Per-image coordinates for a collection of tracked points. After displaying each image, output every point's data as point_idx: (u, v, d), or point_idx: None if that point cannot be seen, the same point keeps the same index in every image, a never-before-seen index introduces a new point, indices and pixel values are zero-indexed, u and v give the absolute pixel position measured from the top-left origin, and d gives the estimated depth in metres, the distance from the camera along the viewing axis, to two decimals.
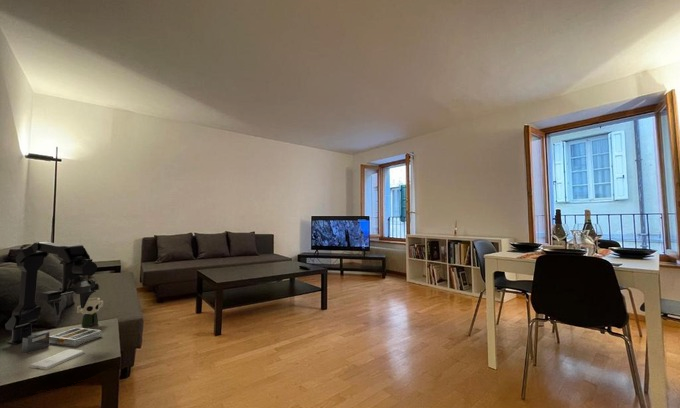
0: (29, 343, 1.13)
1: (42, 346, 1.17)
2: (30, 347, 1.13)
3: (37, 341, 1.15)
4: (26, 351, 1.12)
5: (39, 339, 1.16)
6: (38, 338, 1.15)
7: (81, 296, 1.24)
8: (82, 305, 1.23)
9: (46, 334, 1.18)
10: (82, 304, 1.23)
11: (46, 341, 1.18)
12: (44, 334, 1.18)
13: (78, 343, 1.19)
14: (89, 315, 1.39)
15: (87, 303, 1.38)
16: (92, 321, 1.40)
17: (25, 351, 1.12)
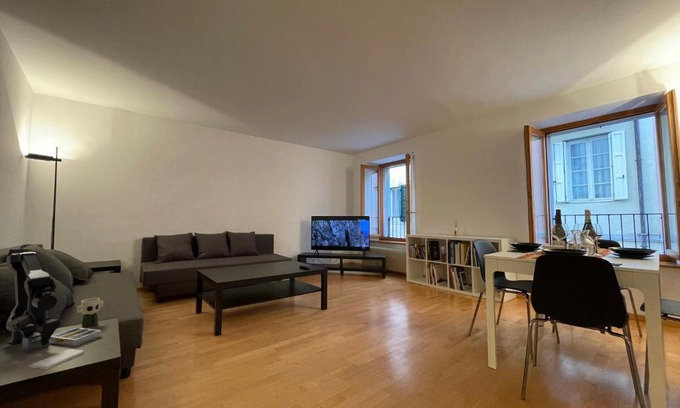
0: (29, 343, 1.13)
1: (42, 346, 1.17)
2: (30, 347, 1.13)
3: (37, 341, 1.15)
4: (26, 351, 1.12)
5: (39, 339, 1.16)
6: (38, 338, 1.15)
7: None
8: None
9: None
10: None
11: None
12: None
13: (78, 343, 1.19)
14: (89, 315, 1.39)
15: (87, 303, 1.38)
16: (92, 321, 1.40)
17: (25, 351, 1.12)
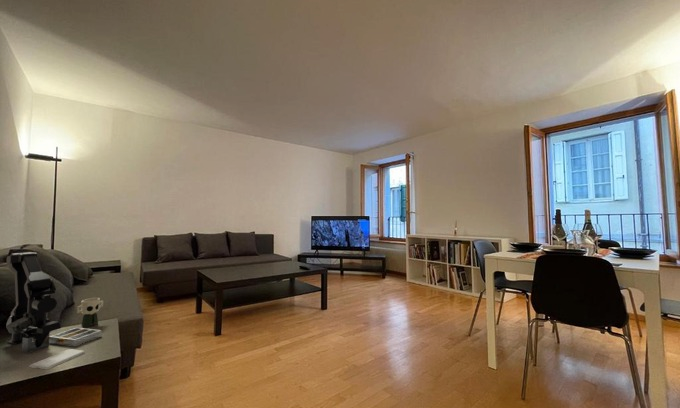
0: (29, 343, 1.13)
1: (42, 346, 1.17)
2: (30, 347, 1.13)
3: None
4: (26, 351, 1.12)
5: None
6: None
7: None
8: None
9: None
10: None
11: (46, 341, 1.18)
12: None
13: (78, 343, 1.19)
14: (89, 315, 1.39)
15: (87, 303, 1.38)
16: (92, 321, 1.40)
17: (25, 351, 1.12)
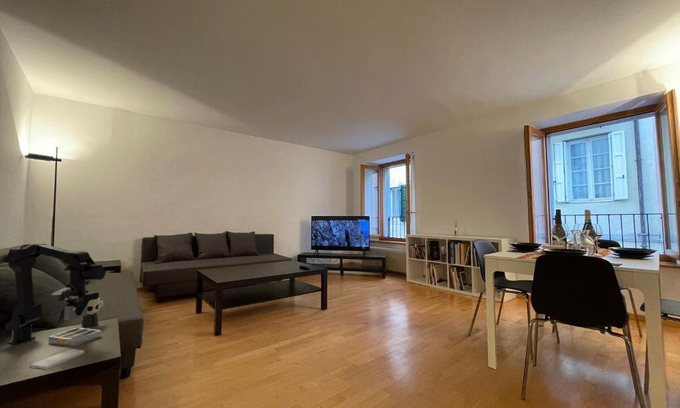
0: (71, 311, 1.22)
1: (81, 315, 1.26)
2: (71, 315, 1.22)
3: None
4: (68, 318, 1.21)
5: None
6: None
7: None
8: None
9: None
10: None
11: (84, 310, 1.27)
12: None
13: (78, 343, 1.19)
14: (89, 315, 1.39)
15: None
16: (92, 321, 1.40)
17: (67, 318, 1.21)
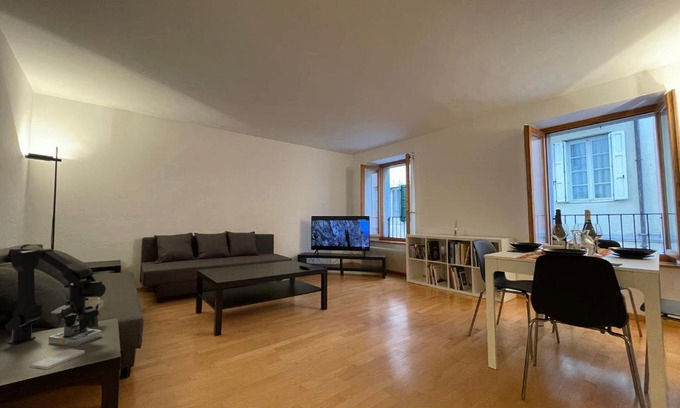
0: (70, 331, 1.22)
1: None
2: (71, 335, 1.22)
3: (76, 330, 1.24)
4: None
5: None
6: (77, 328, 1.24)
7: None
8: None
9: None
10: None
11: (84, 330, 1.27)
12: None
13: (78, 343, 1.19)
14: None
15: (87, 303, 1.38)
16: (92, 321, 1.40)
17: None
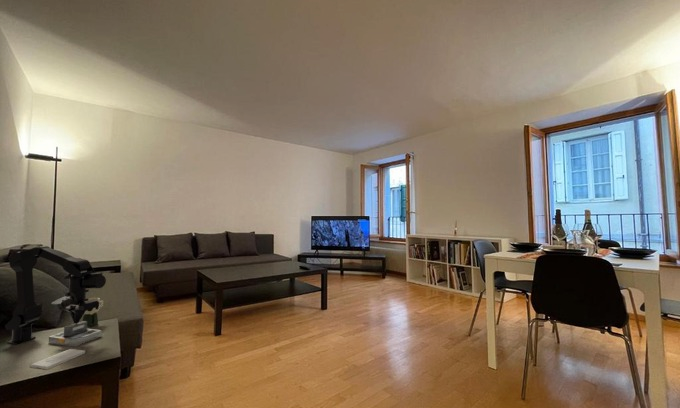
0: (70, 331, 1.22)
1: None
2: (71, 335, 1.22)
3: (76, 330, 1.24)
4: None
5: (79, 328, 1.25)
6: (77, 328, 1.24)
7: None
8: None
9: (84, 324, 1.27)
10: None
11: (84, 330, 1.27)
12: (83, 323, 1.26)
13: (78, 343, 1.19)
14: (89, 315, 1.39)
15: None
16: (92, 321, 1.40)
17: None
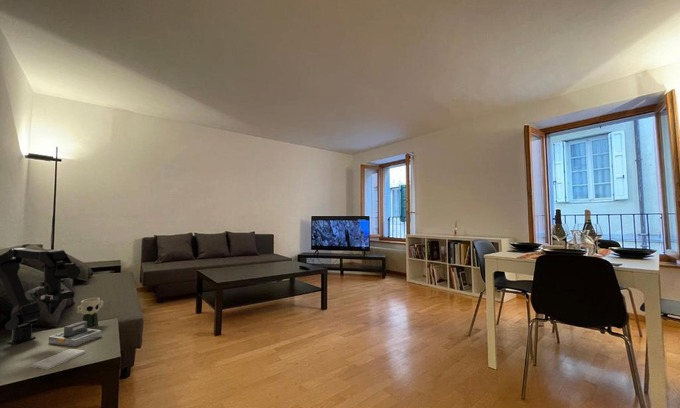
0: (70, 331, 1.22)
1: None
2: (71, 335, 1.22)
3: (76, 330, 1.24)
4: None
5: (79, 328, 1.25)
6: (77, 328, 1.24)
7: None
8: None
9: (84, 324, 1.27)
10: None
11: (84, 330, 1.27)
12: (83, 323, 1.26)
13: (78, 343, 1.19)
14: (89, 315, 1.39)
15: (87, 303, 1.38)
16: (92, 321, 1.40)
17: None
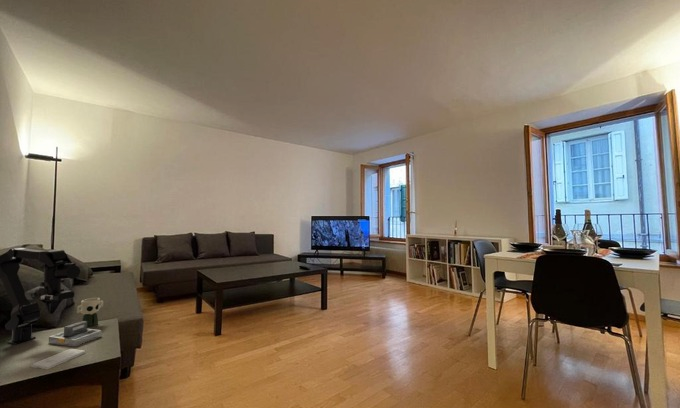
0: (70, 331, 1.22)
1: None
2: (71, 335, 1.22)
3: (76, 330, 1.24)
4: None
5: (79, 328, 1.25)
6: (77, 328, 1.24)
7: None
8: None
9: (84, 324, 1.27)
10: None
11: (84, 330, 1.27)
12: (83, 323, 1.26)
13: (78, 343, 1.19)
14: (89, 315, 1.39)
15: (87, 303, 1.38)
16: (92, 321, 1.40)
17: None
